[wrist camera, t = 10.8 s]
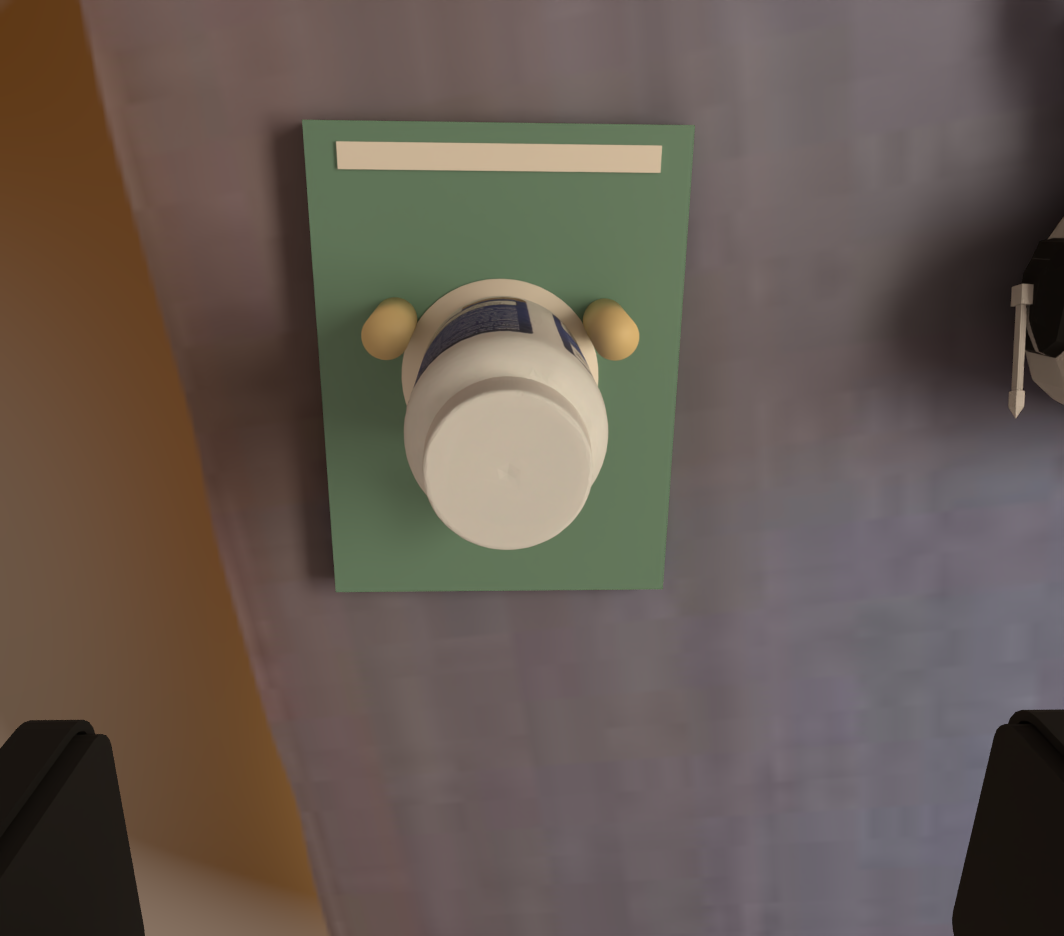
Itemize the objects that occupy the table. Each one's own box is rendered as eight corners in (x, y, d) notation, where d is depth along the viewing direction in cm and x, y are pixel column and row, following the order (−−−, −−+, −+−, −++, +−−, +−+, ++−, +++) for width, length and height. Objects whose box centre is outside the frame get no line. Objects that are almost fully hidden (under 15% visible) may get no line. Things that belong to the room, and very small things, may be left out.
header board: (308, 120, 27) (279, 115, 24) (688, 126, 28) (718, 122, 24) (340, 579, 33) (320, 634, 29) (657, 576, 33) (679, 630, 30)
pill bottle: (399, 416, 30) (357, 533, 20) (457, 267, 28) (439, 322, 19) (545, 472, 31) (567, 609, 21) (609, 331, 29) (663, 413, 20)
